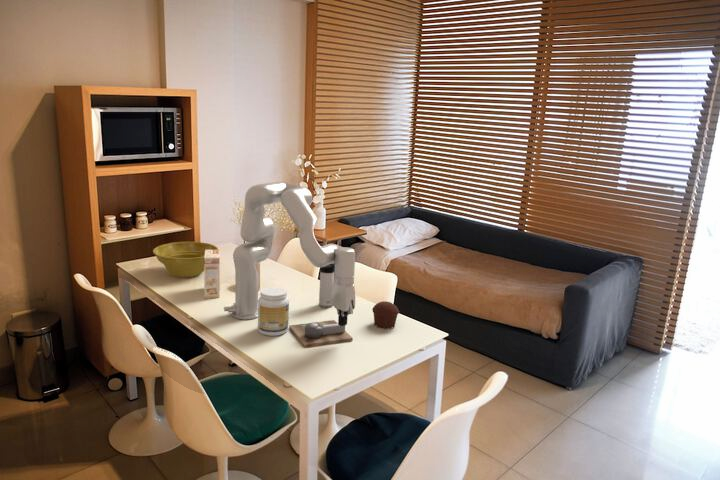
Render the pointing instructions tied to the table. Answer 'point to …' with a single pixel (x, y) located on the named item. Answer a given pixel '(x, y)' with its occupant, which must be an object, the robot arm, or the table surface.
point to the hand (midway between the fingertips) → (342, 324)
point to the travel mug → (326, 285)
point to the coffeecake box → (212, 274)
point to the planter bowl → (183, 257)
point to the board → (325, 339)
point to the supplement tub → (273, 311)
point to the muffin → (385, 315)
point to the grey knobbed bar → (322, 330)
